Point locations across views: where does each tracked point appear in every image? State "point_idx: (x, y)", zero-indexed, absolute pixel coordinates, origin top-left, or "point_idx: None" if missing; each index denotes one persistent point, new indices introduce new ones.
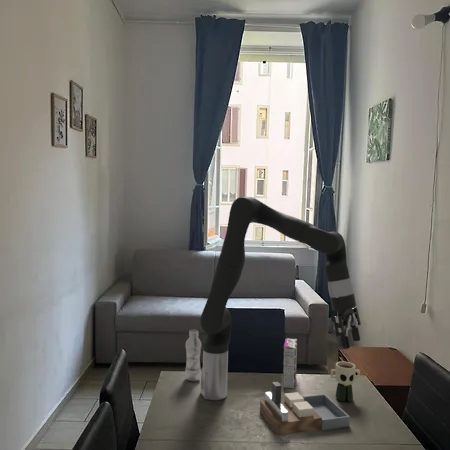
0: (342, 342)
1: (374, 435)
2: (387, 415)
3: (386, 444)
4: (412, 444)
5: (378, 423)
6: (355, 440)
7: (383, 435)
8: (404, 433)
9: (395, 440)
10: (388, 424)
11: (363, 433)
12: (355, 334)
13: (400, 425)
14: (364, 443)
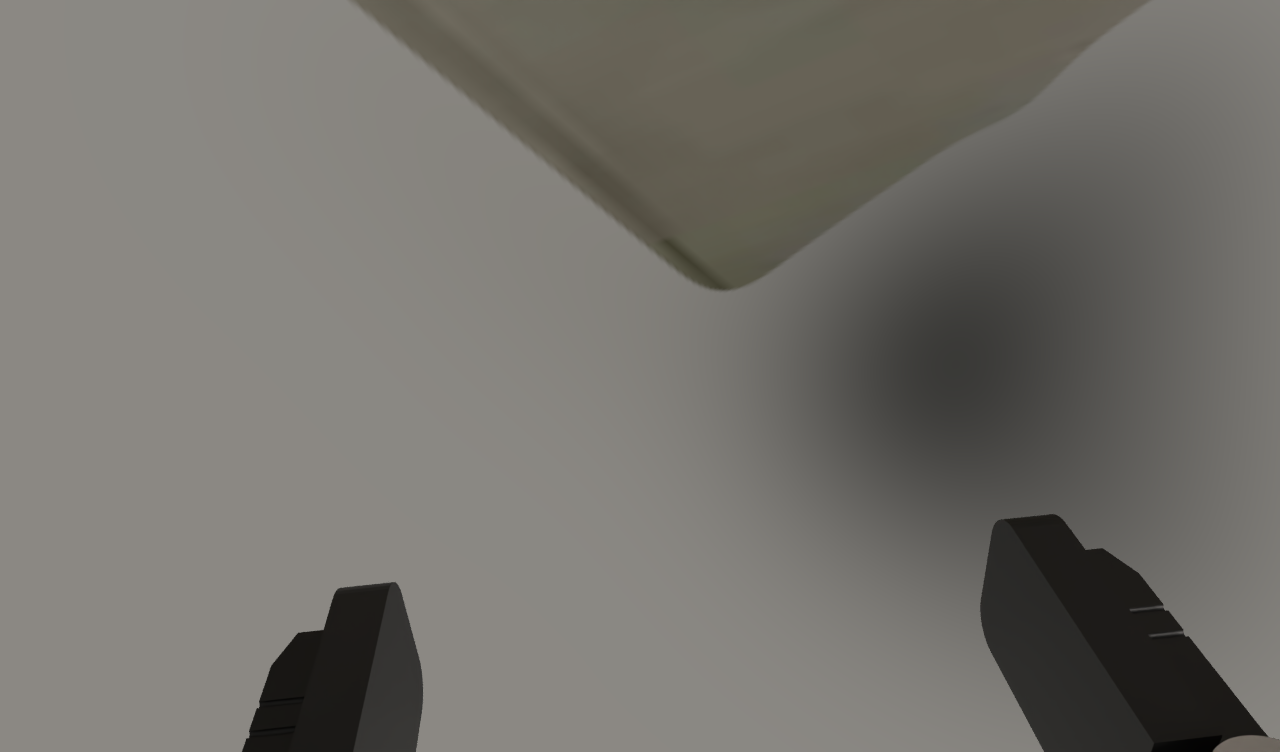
0: (253, 748)
1: (657, 88)
2: (1040, 27)
3: (598, 190)
4: (711, 286)
5: (863, 31)
6: (479, 18)
7: (702, 131)
8: (819, 212)
9: (689, 208)
10: (889, 92)
11: (627, 15)
12: (1059, 695)
13: (920, 155)
14: (493, 85)
